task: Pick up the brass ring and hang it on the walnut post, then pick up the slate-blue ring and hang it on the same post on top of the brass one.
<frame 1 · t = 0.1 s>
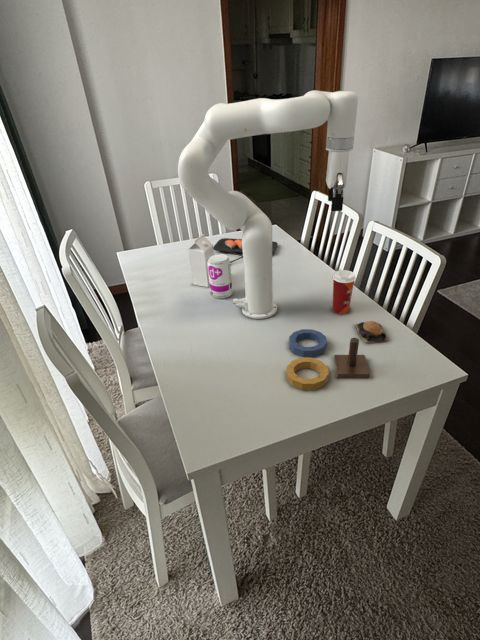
hand: (334, 205, 124), 37 cm above the table, tool pointing down, fingers open, 9 cm apart
stand: (351, 368, 119), on the table
bun on tray: (370, 333, 133), on the table
paper cup: (340, 310, 146), on the table
brass ring: (307, 376, 116), on the table
milk carton: (204, 282, 166), on the table
sushi plate: (241, 256, 186), on the table
supplement can: (221, 294, 157), on the table
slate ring: (307, 346, 129), on the table
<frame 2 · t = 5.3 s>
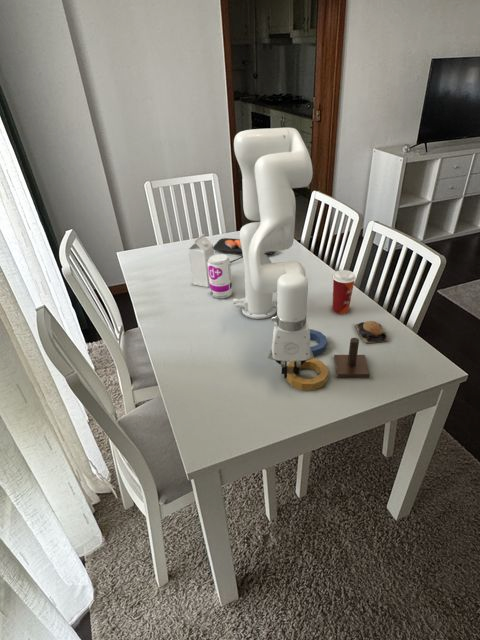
hand: (290, 374, 116), 1 cm above the table, tool pointing down, fingers closed on brass ring, 2 cm apart
brass ring: (306, 376, 116), on the table, touching gripper
everything else where it was.
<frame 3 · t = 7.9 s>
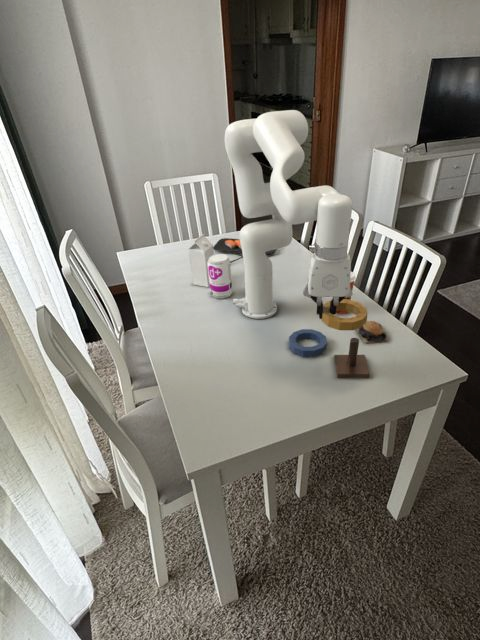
hand: (325, 315, 108), 19 cm above the table, tool pointing down, fingers closed on brass ring
brass ring: (343, 318, 108), point 18 cm above the table, touching gripper
everything else where it was.
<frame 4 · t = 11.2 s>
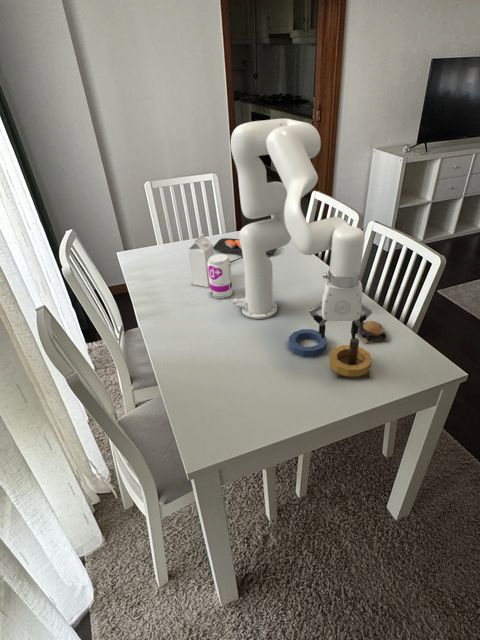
hand: (337, 335, 113), 12 cm above the table, tool pointing down, fingers open, 7 cm apart
brass ring: (349, 363, 118), point 1 cm above the table, touching stand
everything else where it was.
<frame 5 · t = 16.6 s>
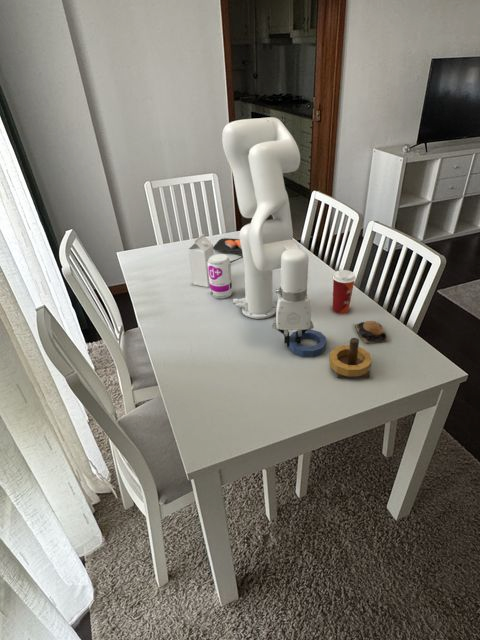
hand: (292, 344, 128), 1 cm above the table, tool pointing down, fingers closed on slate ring, 2 cm apart
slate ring: (307, 346, 129), on the table, touching gripper
everything else where it was.
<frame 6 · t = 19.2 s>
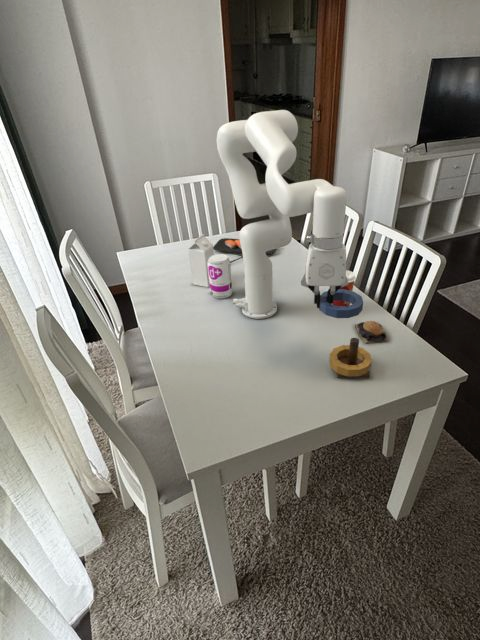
hand: (323, 305, 111), 19 cm above the table, tool pointing down, fingers closed on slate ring
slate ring: (340, 307, 112), point 18 cm above the table, touching gripper
everything else where it was.
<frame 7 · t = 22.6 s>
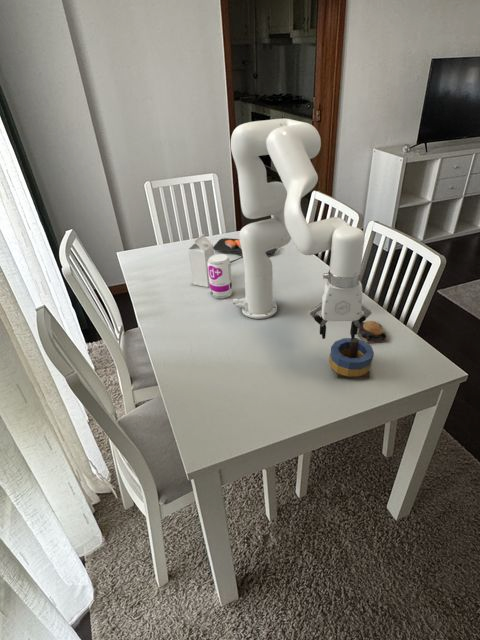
hand: (337, 335, 113), 11 cm above the table, tool pointing down, fingers open, 7 cm apart
brass ring: (349, 363, 118), point 1 cm above the table, touching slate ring, stand
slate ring: (351, 356, 117), point 4 cm above the table, touching brass ring
everything else where it was.
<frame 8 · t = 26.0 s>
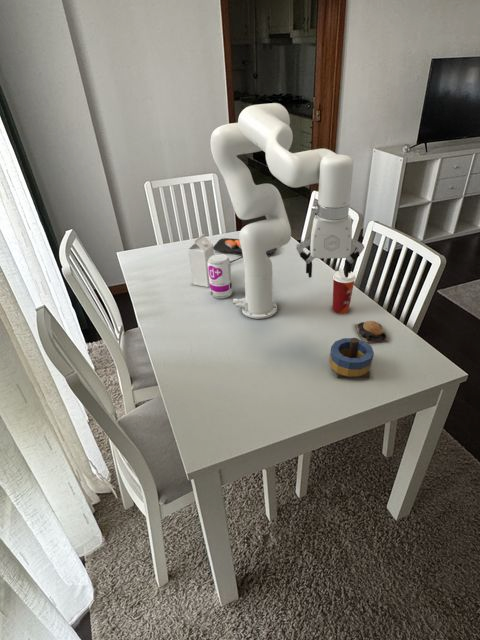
hand: (327, 275, 110), 26 cm above the table, tool pointing down, fingers open, 9 cm apart
nothing on the table moved.
at the end: brass ring 0.5 cm off-centre on the stand, point 1.5 cm above the stand's base; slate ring 0.4 cm off-centre on the stand, point 4.0 cm above the stand's base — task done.
